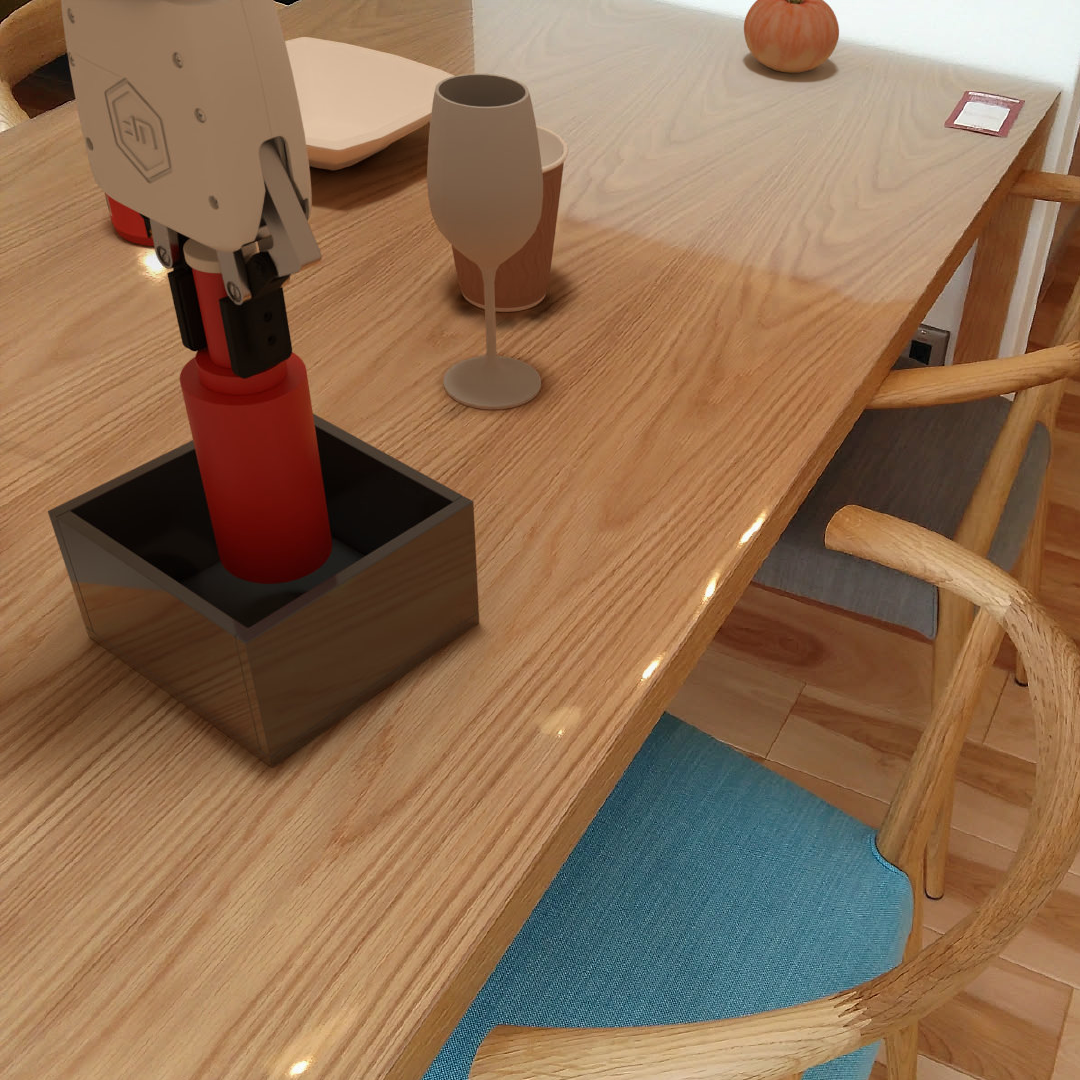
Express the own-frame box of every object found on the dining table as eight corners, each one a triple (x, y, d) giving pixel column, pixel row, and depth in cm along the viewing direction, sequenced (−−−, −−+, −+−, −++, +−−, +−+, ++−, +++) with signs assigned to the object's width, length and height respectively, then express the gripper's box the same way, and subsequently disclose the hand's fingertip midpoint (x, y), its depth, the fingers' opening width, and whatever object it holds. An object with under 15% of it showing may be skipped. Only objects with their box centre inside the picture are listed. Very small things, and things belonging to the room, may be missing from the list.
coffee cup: (587, 281, 110) (590, 137, 101) (531, 335, 102) (529, 184, 94) (478, 252, 112) (473, 108, 104) (416, 302, 105) (404, 153, 96)
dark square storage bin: (88, 636, 74) (46, 510, 68) (301, 515, 84) (281, 395, 78) (272, 768, 68) (245, 643, 62) (479, 622, 78) (473, 501, 72)
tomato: (741, 46, 155) (748, -28, 149) (831, 55, 155) (842, -18, 149) (739, 79, 147) (747, 2, 141) (835, 88, 147) (846, 11, 142)
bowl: (494, 140, 129) (492, 80, 125) (345, 224, 114) (338, 158, 110) (312, 87, 136) (304, 28, 132) (147, 159, 120) (134, 95, 116)
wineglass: (565, 384, 98) (567, 93, 83) (491, 423, 93) (480, 123, 79) (493, 346, 101) (483, 60, 86) (419, 382, 96) (395, 86, 82)
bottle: (196, 552, 71) (122, 244, 59) (282, 504, 75) (229, 205, 63) (269, 599, 69) (208, 289, 57) (355, 547, 73) (315, 245, 61)
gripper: (-52, -101, 52) (68, 322, 65) (218, 2, 45) (292, 449, 58) (112, -128, 56) (193, 272, 69) (378, -38, 50) (414, 385, 63)
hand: (238, 350), depth 64 cm, fingers closed on bottle, 2 cm apart
